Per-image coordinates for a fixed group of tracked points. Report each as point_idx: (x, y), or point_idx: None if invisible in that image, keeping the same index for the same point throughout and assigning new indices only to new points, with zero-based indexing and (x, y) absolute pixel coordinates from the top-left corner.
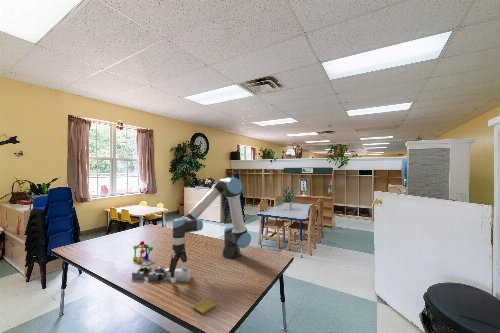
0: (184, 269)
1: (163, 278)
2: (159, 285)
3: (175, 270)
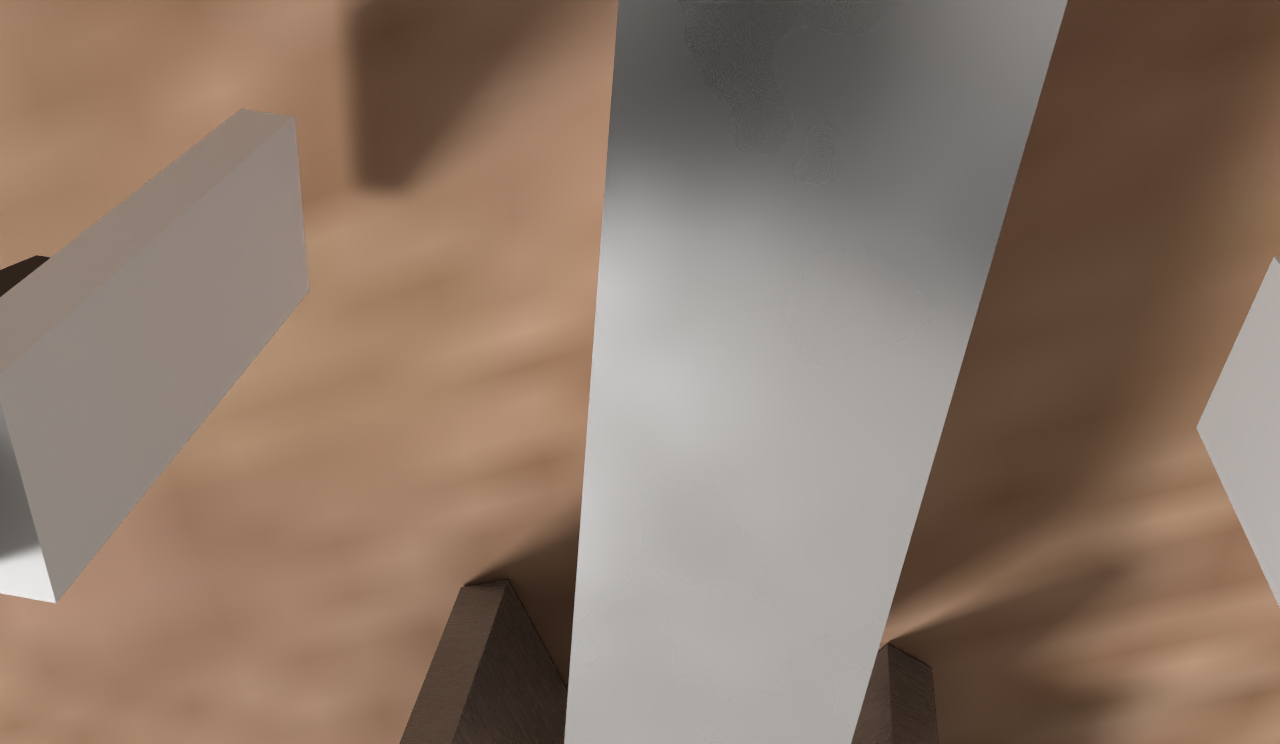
0: (681, 136)
1: (912, 723)
2: (1211, 685)
3: (827, 594)
